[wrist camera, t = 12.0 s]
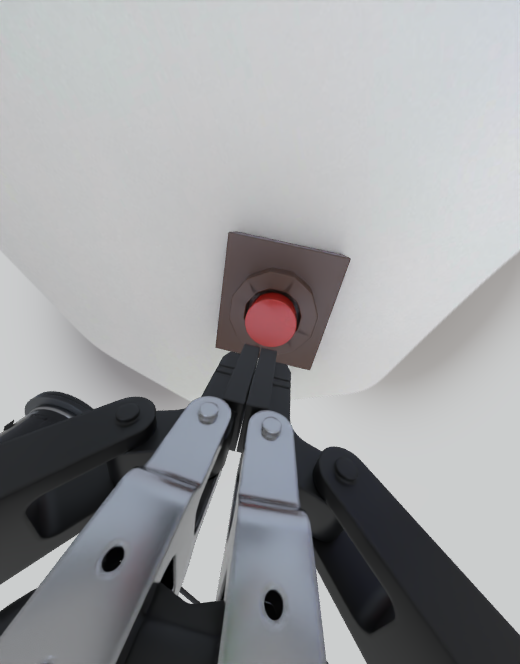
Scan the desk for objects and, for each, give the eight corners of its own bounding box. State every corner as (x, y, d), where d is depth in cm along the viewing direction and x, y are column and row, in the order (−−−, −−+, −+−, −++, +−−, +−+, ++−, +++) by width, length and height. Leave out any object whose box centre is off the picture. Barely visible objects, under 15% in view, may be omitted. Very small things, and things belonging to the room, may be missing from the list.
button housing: (308, 357, 22) (311, 383, 18) (222, 337, 22) (208, 358, 19) (344, 255, 17) (357, 262, 14) (235, 231, 18) (220, 232, 14)
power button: (289, 341, 17) (289, 352, 16) (245, 330, 17) (241, 340, 16) (302, 298, 16) (303, 306, 14) (253, 287, 16) (249, 293, 14)
